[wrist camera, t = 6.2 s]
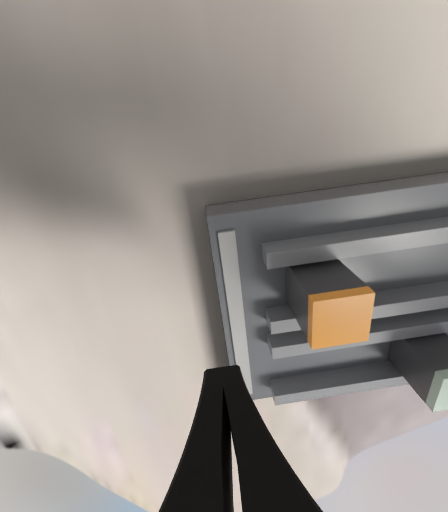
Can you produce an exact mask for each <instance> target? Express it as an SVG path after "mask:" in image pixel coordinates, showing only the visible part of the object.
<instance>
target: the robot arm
mask: <svg viewBox="0 0 448 512" xmlns="http://www.w3.org/2000/svg"><path fill="white" fill-rule="evenodd" d="M231 433H232V439H233V444H234V449H235V454H236V459H237V465H238V474H239V483H240V493H241V502H242V512H323V511H322V510H321V509H320V507H319V506H318V505H317V503H316V502H315V501H314V499H313V498H312V497H311V495H310V494H309V492H308V491H307V490H306V488H305V487H304V485H303V484H302V482H301V481H300V480H299V478H298V477H297V475H296V474H295V472H294V471H293V469H292V468H291V466H290V465H289V463H288V462H287V460H286V459H285V457H284V455H283V454H282V452H281V451H280V449H279V447H278V446H277V444H276V442H275V441H274V439H273V437H272V436H271V434H270V432H269V431H268V429H267V427H266V425H265V423H264V422H263V420H262V418H261V416H260V414H259V412H258V410H257V408H256V406H255V404H254V402H253V400H252V398H251V396H250V394H249V391H248V389H247V387H246V384H245V382H244V379H243V376H242V373H241V369H240V366H238V365H232V366H226V367H219V368H213V369H207V370H206V371H205V372H204V378H203V384H202V389H201V394H200V398H199V402H198V406H197V410H196V413H195V417H194V420H193V424H192V427H191V430H190V433H189V436H188V439H187V442H186V445H185V448H184V451H183V454H182V457H181V459H180V462H179V465H178V467H177V470H176V472H175V475H174V477H173V480H172V482H171V485H170V487H169V490H168V492H167V494H166V497H165V499H164V501H163V503H162V506H161V508H160V510H159V512H234V508H233V483H232V451H231Z"/></svg>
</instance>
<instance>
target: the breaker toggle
mask: <svg viewBox="0 0 448 512" xmlns="http://www.w3.org/2000/svg"><path fill="white" fill-rule="evenodd" d="M374 300H375V292H374V291H373V290H372V289H371V288H370V287H369V286H367V285H366V284H365V283H364V282H363V281H362V280H361V279H360V278H359V277H357V276H356V275H355V274H354V273H353V272H352V271H351V270H350V269H349V268H347V267H346V266H345V265H344V264H343V263H342V262H341V261H340V260H339V259H335V260H328V261H322V262H315V263H308V264H301V265H294V266H287V267H286V301H287V303H288V305H289V307H290V309H291V311H292V313H293V314H294V316H295V318H296V320H297V322H298V324H299V326H300V328H301V330H302V332H303V334H304V336H305V338H306V339H307V341H308V343H309V345H310V347H311V349H319V348H325V347H332V346H338V345H345V344H351V343H358V342H364V341H368V339H369V333H370V326H371V319H372V313H373V306H374Z"/></svg>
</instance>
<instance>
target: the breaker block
mask: <svg viewBox="0 0 448 512" xmlns="http://www.w3.org/2000/svg"><path fill="white" fill-rule="evenodd" d="M206 217H207V224H208V230H209V236H210V243H211V249H212V256H213V262H214V269H215V275H216V282H217V288H218V294H219V301H220V307H221V314H222V320H223V327H224V333H225V340H226V346H227V352H228V359H229V365H230V366H232V365H238V366H240V369H241V373H242V376H243V379H244V382H245V384H246V387H247V389H248V391H249V394H250V396H251V398H252V400H255V399H261V398H268V397H273V399H274V403H275V405H280V404H287V403H293V402H299V401H306V400H312V399H318V398H324V397H331V396H337V395H343V394H350V393H356V392H362V391H369V390H375V389H381V388H388V387H394V386H400V385H407V384H410V385H411V387H412V388H413V389H414V390H415V391H416V393H417V394H418V395H419V396H420V397H421V399H422V400H423V401H424V402H425V403H426V404H427V406H428V407H429V408H430V409H431V410H432V412H435V411H441V410H447V409H448V172H444V173H437V174H430V175H423V176H415V177H408V178H401V179H394V180H387V181H380V182H373V183H366V184H358V185H351V186H344V187H337V188H330V189H323V190H316V191H309V192H301V193H294V194H287V195H280V196H273V197H266V198H259V199H252V200H244V201H237V202H230V203H223V204H216V205H209V206H206ZM335 259H339V260H340V261H341V262H342V263H343V264H344V265H345V266H346V267H347V268H349V269H350V270H351V271H352V272H353V273H354V274H355V275H356V276H357V277H359V278H360V279H361V280H362V281H363V282H364V283H365V284H366V285H367V286H369V287H370V288H371V289H372V290H373V291H374V292H375V300H374V306H373V313H372V319H371V326H370V333H369V339H368V341H364V342H358V343H351V344H345V345H338V346H332V347H325V348H319V349H311V347H310V345H309V343H308V341H307V339H306V338H305V336H304V334H303V332H302V330H301V328H300V326H299V324H298V322H297V320H296V318H295V316H294V314H293V313H292V311H291V309H290V307H289V305H288V303H287V301H286V267H287V266H294V265H301V264H308V263H315V262H322V261H328V260H335Z"/></svg>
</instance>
